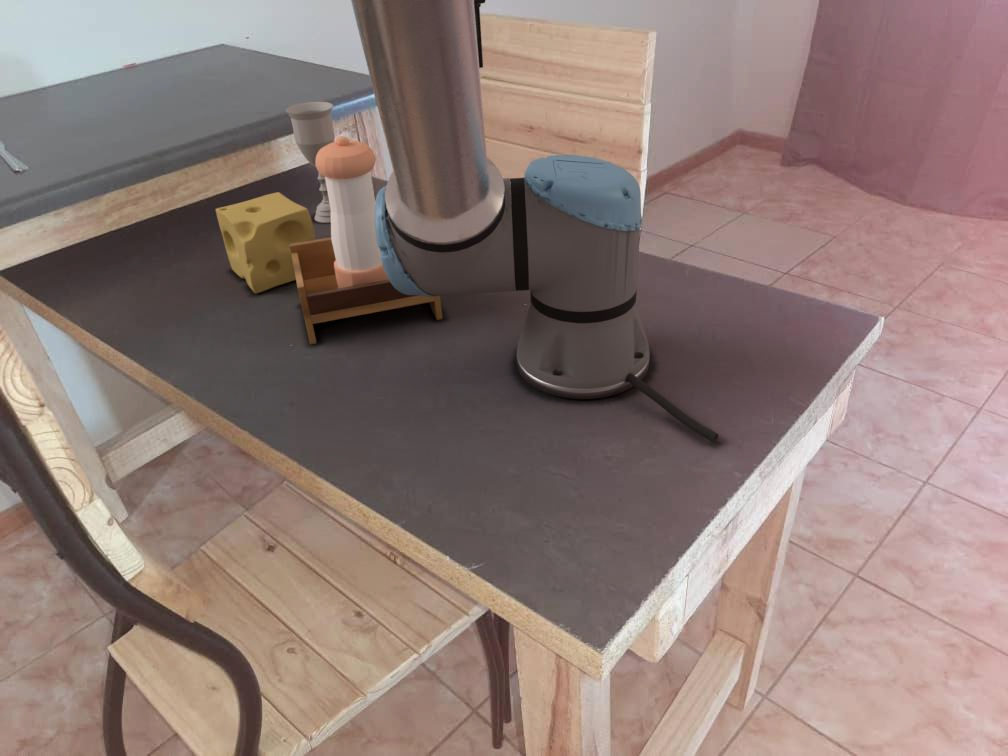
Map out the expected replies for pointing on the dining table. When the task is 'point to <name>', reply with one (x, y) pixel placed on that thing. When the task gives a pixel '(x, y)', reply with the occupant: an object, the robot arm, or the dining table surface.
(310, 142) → the chalice
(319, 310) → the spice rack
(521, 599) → the dining table surface
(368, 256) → the salt shaker
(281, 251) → the cheese
